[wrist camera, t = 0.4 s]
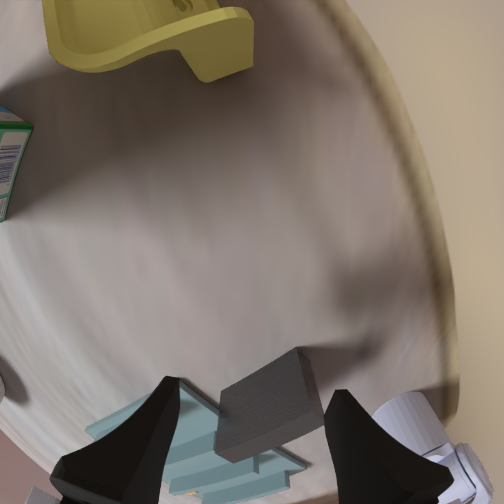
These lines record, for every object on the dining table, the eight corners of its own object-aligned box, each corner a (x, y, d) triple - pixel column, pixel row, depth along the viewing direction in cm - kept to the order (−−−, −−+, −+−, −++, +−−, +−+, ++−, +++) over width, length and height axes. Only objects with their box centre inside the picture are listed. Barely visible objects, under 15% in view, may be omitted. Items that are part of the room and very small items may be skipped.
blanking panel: (309, 360, 22) (326, 423, 16) (235, 402, 24) (233, 463, 17) (296, 346, 22) (311, 410, 15) (221, 390, 23) (214, 453, 17)
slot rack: (305, 464, 28) (309, 484, 25) (203, 495, 31) (202, 512, 28) (177, 377, 23) (169, 404, 20) (86, 427, 26) (77, 445, 23)
